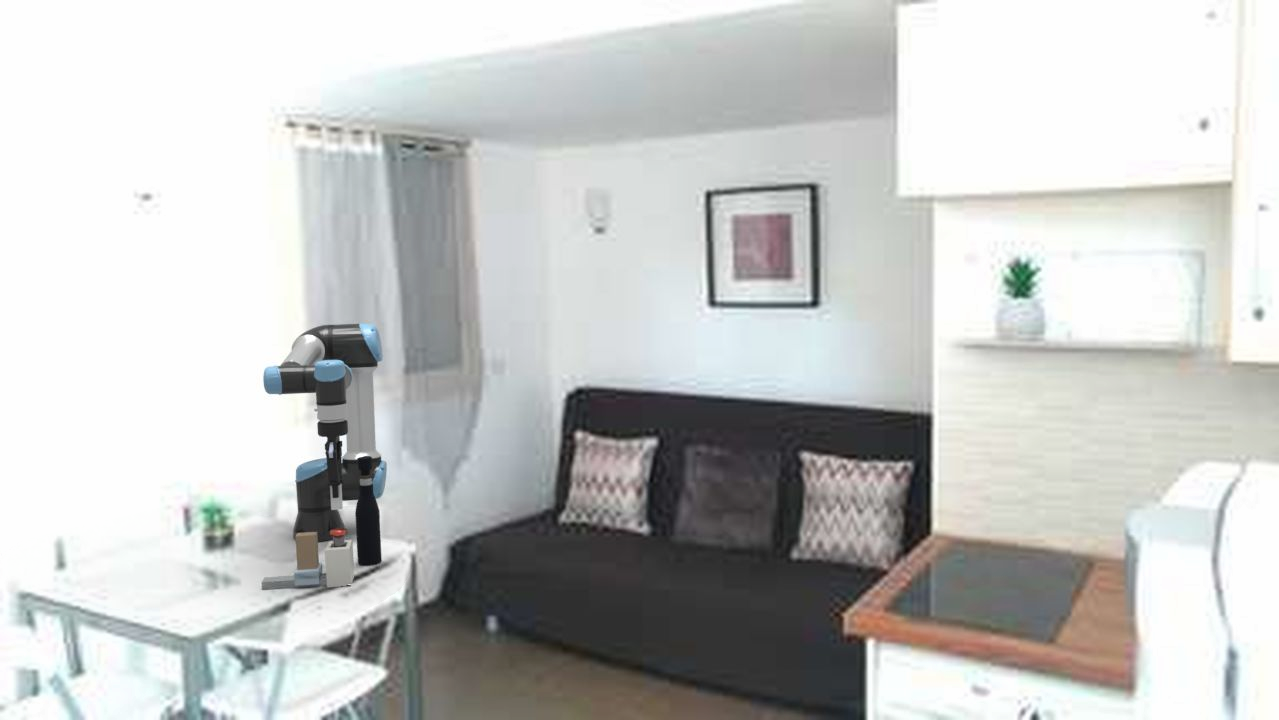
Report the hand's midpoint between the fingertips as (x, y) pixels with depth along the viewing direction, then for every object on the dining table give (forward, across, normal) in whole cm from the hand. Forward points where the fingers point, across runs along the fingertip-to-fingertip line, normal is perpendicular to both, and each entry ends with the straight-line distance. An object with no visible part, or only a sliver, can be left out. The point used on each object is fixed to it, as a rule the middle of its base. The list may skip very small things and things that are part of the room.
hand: (337, 508), depth 258 cm
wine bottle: (+20, -15, +6) cm, 26 cm away
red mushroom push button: (+13, 0, 0) cm, 13 cm away
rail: (+20, 0, -11) cm, 23 cm away
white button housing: (+20, 0, 0) cm, 20 cm away
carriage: (+20, 0, -8) cm, 21 cm away
